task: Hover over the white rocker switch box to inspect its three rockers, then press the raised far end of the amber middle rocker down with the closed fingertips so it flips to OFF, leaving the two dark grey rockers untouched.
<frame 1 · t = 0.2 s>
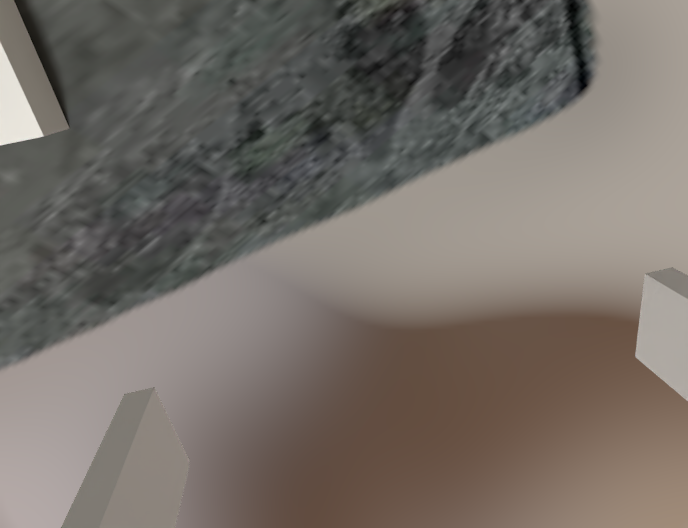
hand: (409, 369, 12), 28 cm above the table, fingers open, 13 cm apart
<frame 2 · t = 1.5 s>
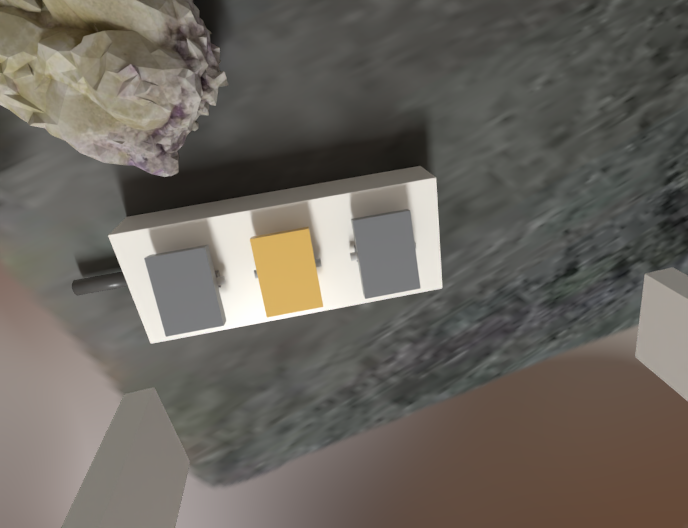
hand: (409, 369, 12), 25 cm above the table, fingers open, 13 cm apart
grey rocker 2: (186, 290, 31), point 6 cm above the table, hinge at -12.0°
white rocker switch box: (287, 243, 37), on the table
grey rocker 1: (385, 253, 32), point 6 cm above the table, hinge at -12.0°
geode: (115, 26, 29), on the table
amber rocker: (287, 272, 31), point 6 cm above the table, hinge at -12.0°
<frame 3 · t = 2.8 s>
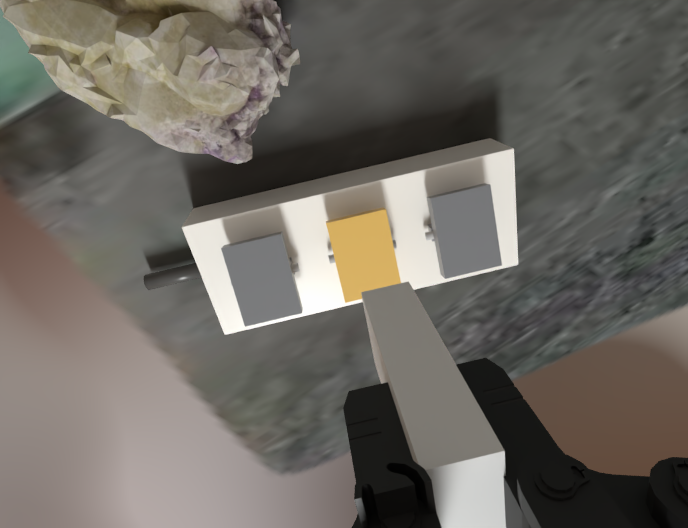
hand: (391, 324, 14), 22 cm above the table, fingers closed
grey rocker 2: (263, 279, 30), point 6 cm above the table, hinge at -12.0°
white rocker switch box: (353, 227, 36), on the table
grey rocker 1: (464, 231, 30), point 6 cm above the table, hinge at -12.0°
geode: (178, 11, 28), on the table
amber rocker: (364, 255, 30), point 6 cm above the table, hinge at -12.0°
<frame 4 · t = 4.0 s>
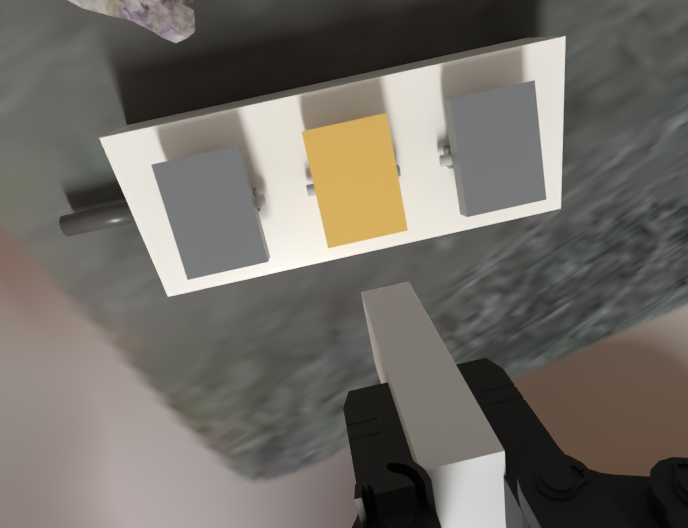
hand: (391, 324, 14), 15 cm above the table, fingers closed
grey rocker 2: (214, 213, 22), point 6 cm above the table, hinge at -12.0°
white rocker switch box: (343, 159, 27), on the table
grey rocker 1: (495, 150, 22), point 6 cm above the table, hinge at -12.0°
amber rocker: (355, 182, 22), point 6 cm above the table, hinge at -12.0°
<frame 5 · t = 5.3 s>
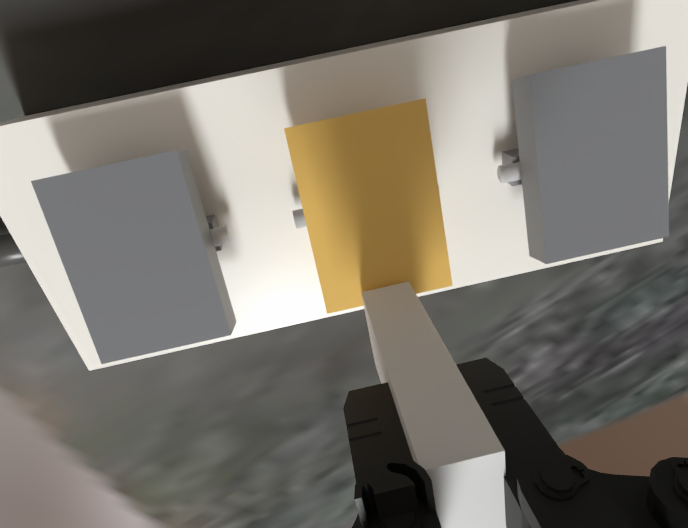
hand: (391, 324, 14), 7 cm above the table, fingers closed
grey rocker 2: (143, 258, 13), point 6 cm above the table, hinge at -12.0°
white rocker switch box: (347, 168, 19), on the table
grey rocker 1: (591, 160, 14), point 6 cm above the table, hinge at -12.0°
amber rocker: (370, 209, 14), point 6 cm above the table, hinge at -10.8°, touching gripper
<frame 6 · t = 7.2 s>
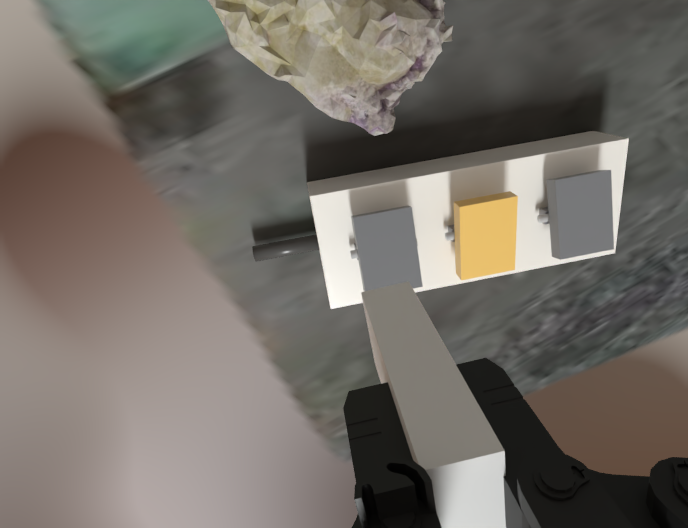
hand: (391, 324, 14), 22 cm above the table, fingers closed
grey rocker 2: (387, 251, 31), point 6 cm above the table, hinge at -12.0°
white rocker switch box: (455, 210, 37), on the table
grey rocker 1: (580, 214, 32), point 6 cm above the table, hinge at -12.0°
amber rocker: (485, 236, 31), point 6 cm above the table, hinge at 2.4°
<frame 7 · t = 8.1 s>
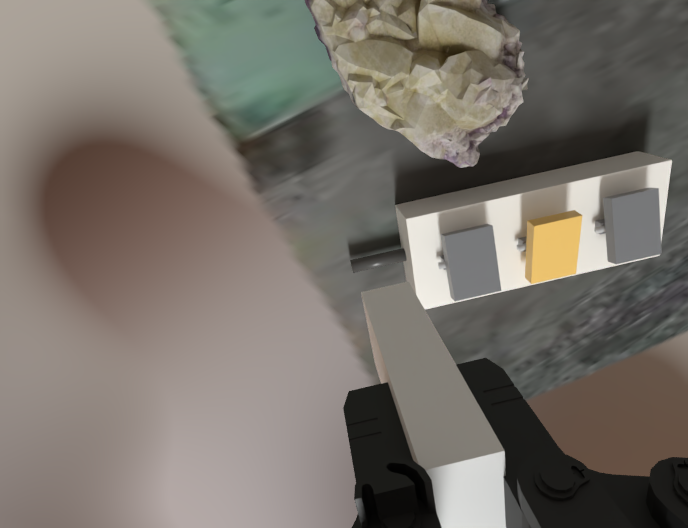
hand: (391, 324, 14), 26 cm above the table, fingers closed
grey rocker 2: (471, 262, 37), point 6 cm above the table, hinge at -12.0°
white rocker switch box: (518, 223, 43), on the table
grey rocker 1: (632, 225, 38), point 6 cm above the table, hinge at -12.0°
geode: (416, 45, 35), on the table
amber rocker: (552, 247, 37), point 6 cm above the table, hinge at 5.4°
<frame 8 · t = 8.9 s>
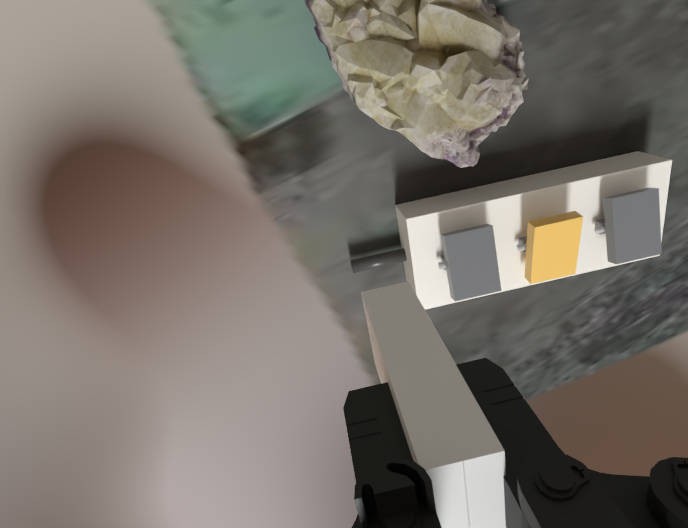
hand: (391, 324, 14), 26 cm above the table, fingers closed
grey rocker 2: (471, 262, 37), point 6 cm above the table, hinge at -12.0°
white rocker switch box: (518, 223, 43), on the table
grey rocker 1: (632, 225, 38), point 6 cm above the table, hinge at -12.0°
geode: (416, 45, 35), on the table
amber rocker: (552, 248, 37), point 6 cm above the table, hinge at 7.4°
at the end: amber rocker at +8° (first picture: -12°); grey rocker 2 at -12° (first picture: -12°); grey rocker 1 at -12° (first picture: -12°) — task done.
